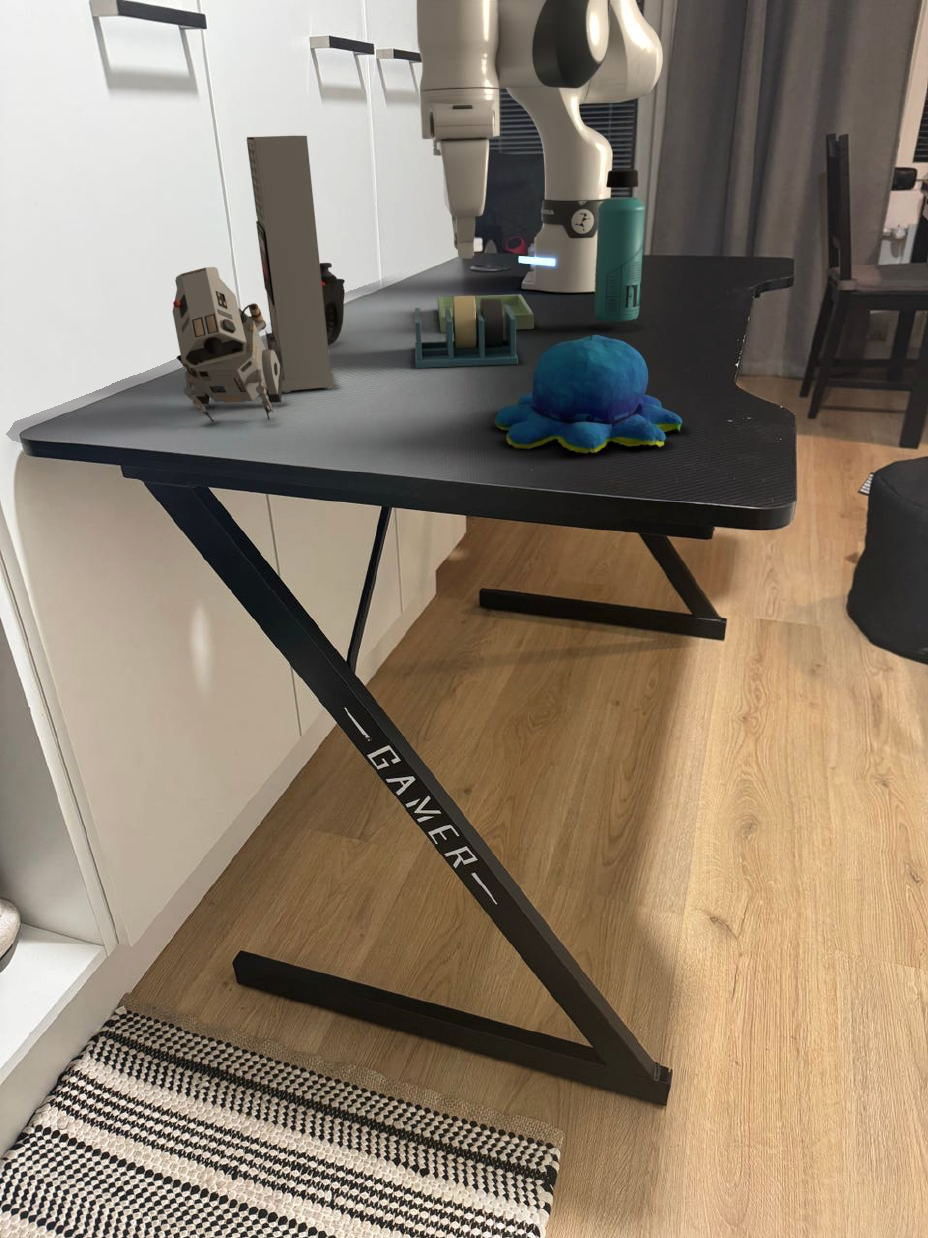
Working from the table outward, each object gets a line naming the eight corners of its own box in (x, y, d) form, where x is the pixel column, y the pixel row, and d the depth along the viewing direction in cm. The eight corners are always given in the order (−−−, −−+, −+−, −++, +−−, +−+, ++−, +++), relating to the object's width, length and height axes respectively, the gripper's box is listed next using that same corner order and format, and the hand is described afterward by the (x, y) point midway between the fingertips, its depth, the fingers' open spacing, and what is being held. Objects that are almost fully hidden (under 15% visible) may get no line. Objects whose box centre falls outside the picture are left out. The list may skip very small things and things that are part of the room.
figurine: (193, 451, 92) (143, 352, 78) (203, 363, 96) (158, 256, 83) (280, 449, 92) (246, 349, 78) (287, 361, 96) (255, 253, 83)
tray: (438, 310, 140) (437, 297, 139) (520, 307, 140) (520, 294, 140) (440, 332, 125) (440, 317, 124) (533, 328, 125) (533, 314, 125)
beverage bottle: (625, 334, 121) (634, 169, 111) (582, 329, 124) (588, 169, 114) (647, 325, 125) (658, 167, 115) (605, 321, 129) (613, 167, 119)
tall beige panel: (269, 366, 110) (238, 137, 97) (318, 362, 111) (294, 135, 99) (278, 394, 98) (244, 137, 86) (333, 389, 99) (308, 135, 87)
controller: (353, 337, 124) (347, 260, 119) (315, 357, 113) (306, 274, 108) (325, 336, 125) (318, 260, 120) (284, 355, 114) (274, 274, 110)
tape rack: (415, 348, 116) (413, 307, 114) (509, 344, 117) (509, 303, 114) (415, 368, 107) (413, 323, 104) (517, 364, 107) (518, 319, 105)
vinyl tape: (480, 344, 114) (479, 295, 111) (499, 343, 114) (498, 294, 111) (484, 353, 109) (483, 302, 106) (503, 352, 109) (503, 301, 106)
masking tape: (453, 342, 114) (452, 291, 111) (473, 342, 114) (472, 290, 111) (455, 356, 109) (454, 302, 105) (476, 355, 109) (475, 301, 105)
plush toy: (645, 467, 74) (653, 366, 70) (467, 442, 81) (464, 349, 77) (699, 414, 87) (708, 326, 83) (540, 397, 94) (542, 315, 90)
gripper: (430, 123, 108) (435, 245, 115) (434, 119, 90) (439, 264, 97) (481, 121, 108) (483, 243, 115) (495, 117, 90) (497, 262, 97)
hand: (463, 253), depth 106 cm, fingers open, 8 cm apart
